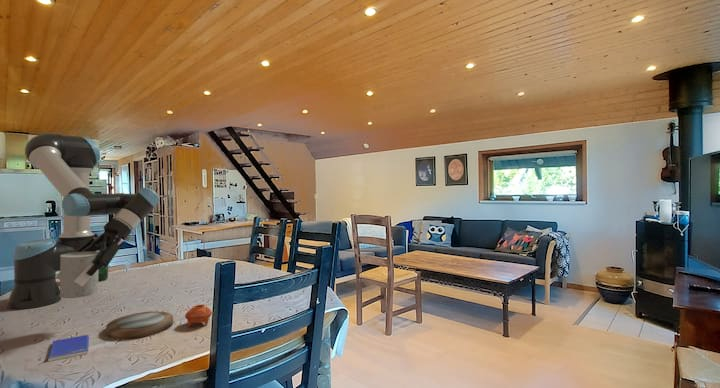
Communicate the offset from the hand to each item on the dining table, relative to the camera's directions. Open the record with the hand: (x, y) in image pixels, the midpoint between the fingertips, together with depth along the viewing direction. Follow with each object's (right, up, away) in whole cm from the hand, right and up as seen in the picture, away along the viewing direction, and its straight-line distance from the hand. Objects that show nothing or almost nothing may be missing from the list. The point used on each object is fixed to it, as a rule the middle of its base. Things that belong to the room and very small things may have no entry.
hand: (68, 281), depth 110 cm
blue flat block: (+9, -16, -11) cm, 22 cm away
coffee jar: (-36, -14, +62) cm, 73 cm away
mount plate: (+19, -16, +4) cm, 25 cm away
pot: (+36, -16, +8) cm, 40 cm away
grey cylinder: (+1, -5, +3) cm, 6 cm away
